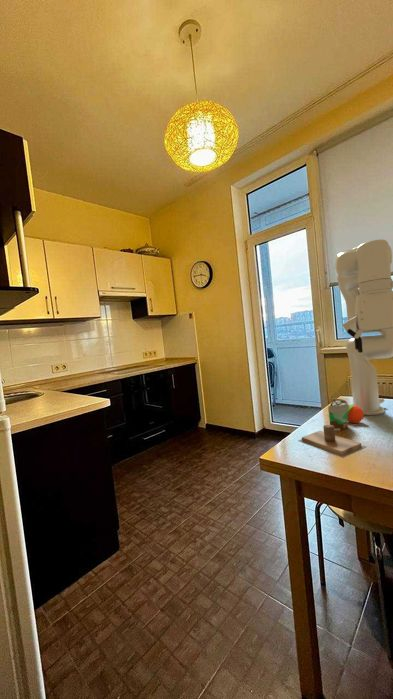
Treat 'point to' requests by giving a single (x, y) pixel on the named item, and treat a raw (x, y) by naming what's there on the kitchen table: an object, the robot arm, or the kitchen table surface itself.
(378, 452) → the kitchen table surface
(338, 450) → the lid
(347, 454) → the mat
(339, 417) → the food container
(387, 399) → the kitchen table surface
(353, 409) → the clementine
